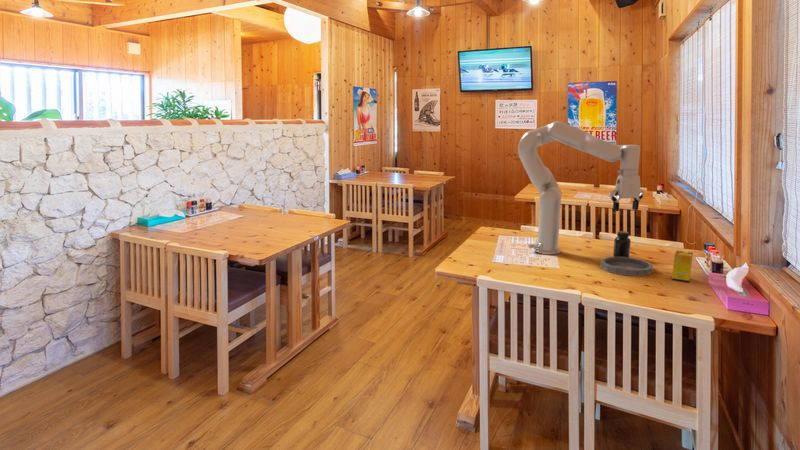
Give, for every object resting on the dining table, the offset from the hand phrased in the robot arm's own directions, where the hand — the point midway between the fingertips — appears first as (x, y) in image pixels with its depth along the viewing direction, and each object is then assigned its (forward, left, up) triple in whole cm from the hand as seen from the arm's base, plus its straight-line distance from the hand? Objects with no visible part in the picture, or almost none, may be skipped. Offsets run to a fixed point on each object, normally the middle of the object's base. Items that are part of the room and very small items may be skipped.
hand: (625, 210), depth 210 cm
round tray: (-9, -16, -22) cm, 29 cm away
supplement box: (+3, -33, -23) cm, 40 cm away
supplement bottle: (0, 0, -23) cm, 23 cm away
